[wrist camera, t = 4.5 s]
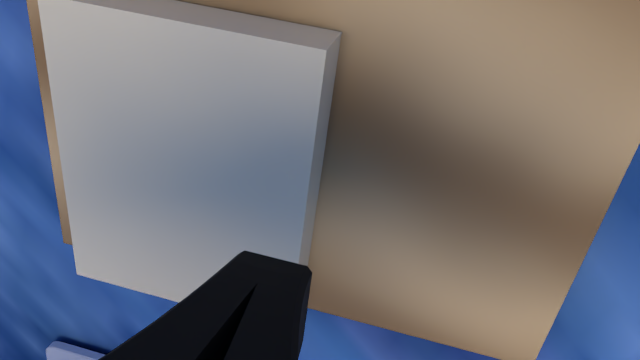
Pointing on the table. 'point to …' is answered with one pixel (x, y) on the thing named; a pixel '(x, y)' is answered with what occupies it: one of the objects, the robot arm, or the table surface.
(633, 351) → the table surface
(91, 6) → the tile
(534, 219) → the cork board
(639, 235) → the table surface
